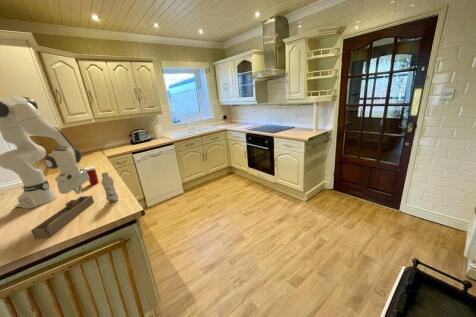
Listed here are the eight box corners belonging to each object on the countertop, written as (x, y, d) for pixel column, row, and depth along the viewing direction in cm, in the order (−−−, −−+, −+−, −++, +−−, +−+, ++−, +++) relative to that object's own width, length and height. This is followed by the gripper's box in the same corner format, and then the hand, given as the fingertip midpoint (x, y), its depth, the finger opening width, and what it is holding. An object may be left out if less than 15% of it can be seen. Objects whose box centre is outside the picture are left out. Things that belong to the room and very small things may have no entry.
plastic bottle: (110, 199, 138) (102, 172, 131) (120, 197, 138) (112, 171, 131) (105, 204, 131) (96, 176, 125) (116, 202, 132) (107, 174, 125)
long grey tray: (35, 238, 103) (30, 230, 101) (82, 203, 135) (80, 196, 133) (49, 237, 103) (45, 229, 101) (94, 202, 135) (91, 195, 133)
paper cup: (102, 181, 168) (97, 166, 164) (92, 186, 162) (87, 169, 157) (96, 180, 171) (91, 165, 167) (87, 184, 165) (81, 169, 160)
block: (68, 210, 121) (65, 204, 120) (73, 206, 126) (71, 200, 124) (75, 209, 121) (72, 203, 120) (80, 205, 126) (78, 199, 124)
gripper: (78, 167, 133) (86, 186, 137) (52, 180, 113) (61, 201, 118) (88, 166, 133) (95, 185, 137) (63, 179, 113) (72, 200, 118)
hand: (79, 193), depth 127 cm, fingers closed
